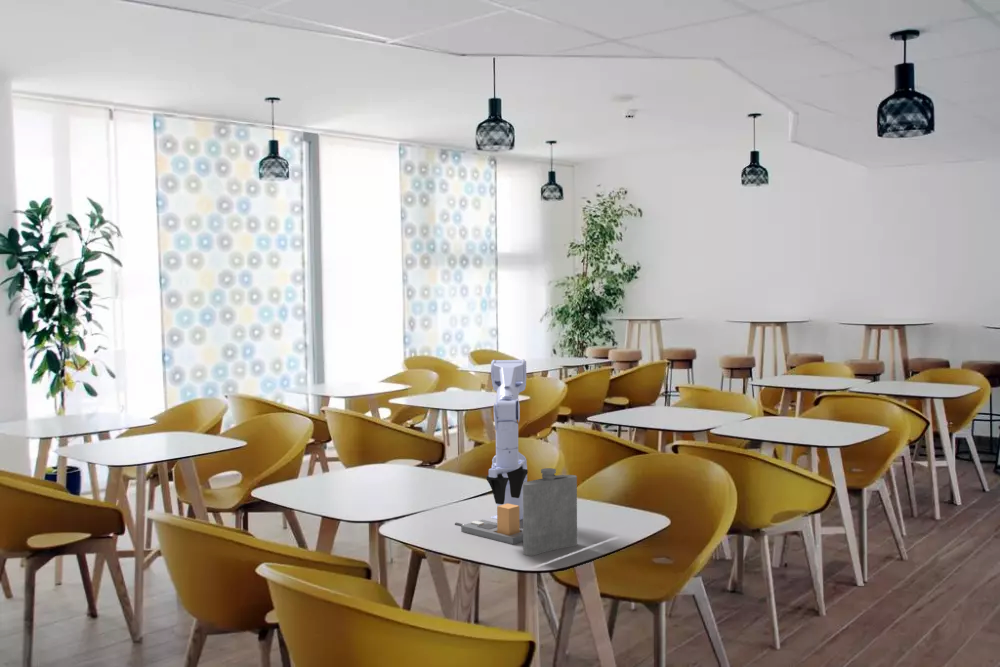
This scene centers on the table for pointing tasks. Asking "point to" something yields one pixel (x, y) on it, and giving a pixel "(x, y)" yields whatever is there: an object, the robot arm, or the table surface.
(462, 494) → the table surface
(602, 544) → the table surface
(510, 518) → the plug
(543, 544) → the hip flask
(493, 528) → the power strip
